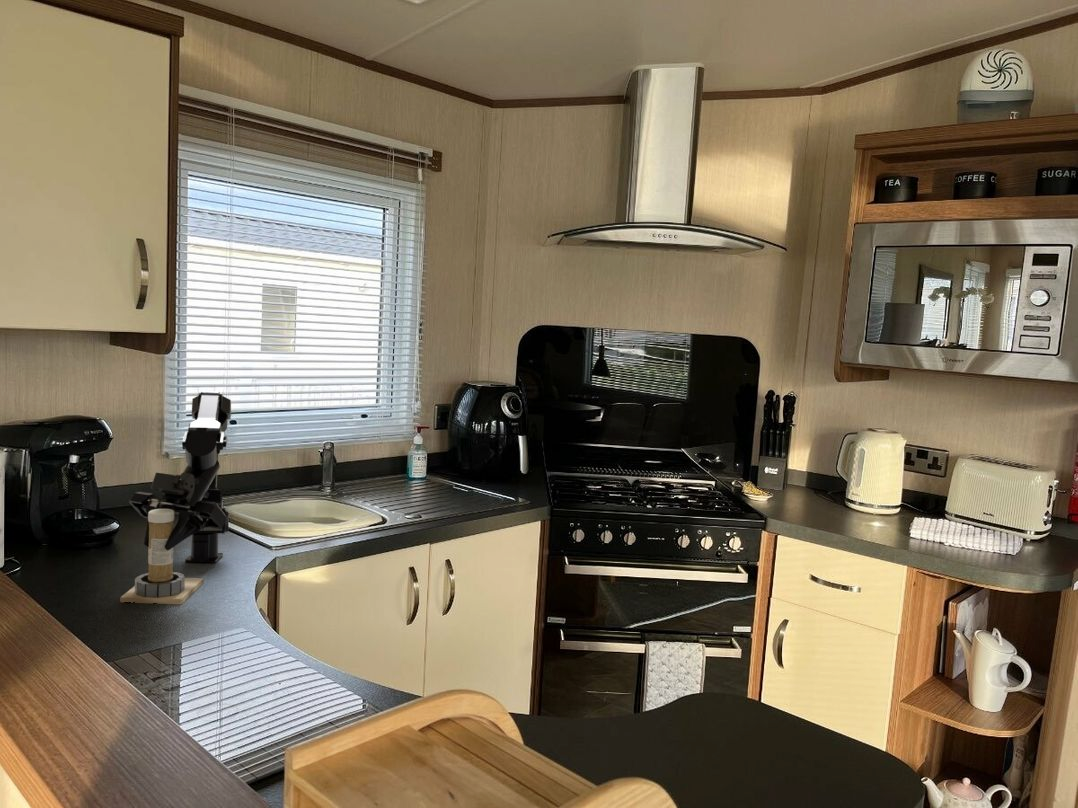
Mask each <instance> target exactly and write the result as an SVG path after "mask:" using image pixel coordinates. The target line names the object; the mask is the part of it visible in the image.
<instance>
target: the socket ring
mask: <svg viewBox="0 0 1078 808" xmlns="http://www.w3.org/2000/svg"><path fill="white" fill-rule="evenodd" d="M148 576H149V572H146V573H143V574H140V575H138V576H136V577H135V578H134V586H135V593H136V595H138V596H141V597H146V598H162V597H170V596H174V595H177V594H180V593H182V592H183V591H184V589H185V578H186V577H185V575H184V574H183V573H181V572H176V571H173V578H172V579H171V580H169V581H165V582H151V581H149V580H148Z"/></svg>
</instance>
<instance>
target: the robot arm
mask: <svg viewBox="0 0 1078 808" xmlns="http://www.w3.org/2000/svg"><path fill="white" fill-rule="evenodd" d="M191 401H192V403H191V416H192V417H191V418H192V420H193V419H194V420H193V421H191V422H189V425H188V428H187V430H185V431H184V434H183V438H182V442H181V443H182V444H181V445H182V447H181V448H182V450H184V451H185V452H184V453H185V460H186V461H185V462H186V464H187V465H186V467H185V469H184V470H183V472H181V473H180V474H176V475H175V474H170V473H165V472H164V473H163V472H155V474H154V476H153V479H152V483H151V486H150V489H151V490H154V491H155V490H156V491H159V492H161V493H160V496H161V498H163V499H165V500H166V501H160V499H159V498H158V497H157V496H156V494H154V493H152V492H151V493H150V492H144V491H137V492H136V491H135V492H134V493H133V494H132V495H131V497H130V499H129V501H128V503H129V504H130V505H131V506H132V507H133V509H134V510H135V511H136V512H137V513H138V514H139V515H140V516H141V517H143V518H145V519H147V523H146V530H145V537H144V540H143V545H144V546H145V547H146V548H149V521H148V512H149V511H151V510H154V509H171V510H173V511H174V515H178V519H177V522H176V524H175V526H174V527H173V531H172V533H171V535H170V537H169V538H168V540H167V542H166V545H165V549H166V550H170V549H171V548H173V549H174V548H175V547H176V546H177V545H179V544H180V543H181V542H184V540H186V539H187V538H189V537H190V554H189V556H187V557H186V558H185V559H184V562H187V563H207V564H209V563H210V564H211V563H212V564H214V563H217V562H218V561H219V560H220V559H221V558H222V557H223V556H224V553H223V552H219V543H220V541H219V540H220V539H219V538H220V537H219V534H222V535H223V534H224V535H225V533H229V523H230V522H229V521H230V520H229V517H230V516H229V515H230V514H229V512H228V511H227V508H226V507H227V506H226V505H224V506H223V495H222V492H221V490H220V489H218V487H217V485H218V472H219V470H220V468H221V466H220V462H219V455H220V453H221V451H223V450H224V448H227V445H228V437H227V436H226V434H225V431H226V430H228V420H231V419H232V418H231V416H232V403H231V402H232V400H231V399H230V398H227V397H226V396H224V395H223V392H220V391H211V390H208V391H207V390H202V391H198V395H197V396H195V397H193V398H192V400H191Z"/></svg>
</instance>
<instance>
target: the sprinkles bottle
mask: <svg viewBox="0 0 1078 808" xmlns="http://www.w3.org/2000/svg"><path fill="white" fill-rule="evenodd" d="M147 520H148V521H149V547H147V548H148V549H147V551H148V556H147V557H148V558H147V562H148V573H149V576H148V580H149V581H151V582H165V581H169V580H171V579H172V578H173V572H174V570H173V565H174V564H173V563H174V547H173V548H171V549H170V550H166V549H165V545H166V542H167V540H168V538H169V537H170V535H171V533H172V531H173V529H174V521H175V514H174V511H173V510H171V509H154V510H151V511H149V512H148V518H147Z"/></svg>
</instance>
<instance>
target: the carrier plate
mask: <svg viewBox="0 0 1078 808" xmlns="http://www.w3.org/2000/svg"><path fill="white" fill-rule="evenodd" d="M203 584H204V578H202V577H201V578H200V577H199V578H198V577H185V589H184V591H183V592H182V593H180V594H177V595H174V596H170V597H162V598H146V597H141V596H138V595H136V593H135V585H133V587H131V588H130V589H129V590H127V591H126V592H125V593H124V594H123V595H121V596H120V600H119V602H120V603H124V602H131V603H130V604H153V603H157V604H158V605H161V604H162V605H182V604H183V603H185V601H186V600H187V599H189V598H190V597H191V596H192V595H193V594H194V593H195V592H196V591H197V590H198V589H199V588H200V587H201V586H202V585H203ZM189 596H190V597H189ZM133 602H135V603H133ZM157 604H156V605H157Z"/></svg>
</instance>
